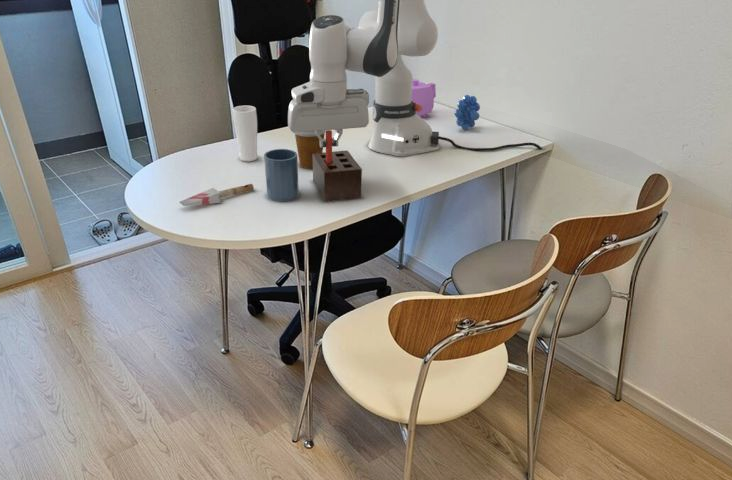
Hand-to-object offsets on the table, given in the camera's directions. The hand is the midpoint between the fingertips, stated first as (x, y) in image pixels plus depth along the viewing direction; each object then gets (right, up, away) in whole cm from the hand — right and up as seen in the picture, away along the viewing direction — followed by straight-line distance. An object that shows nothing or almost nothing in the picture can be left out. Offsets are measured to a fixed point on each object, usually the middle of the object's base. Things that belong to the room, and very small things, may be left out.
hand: (328, 146), depth 142 cm
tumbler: (-12, -12, +4) cm, 17 cm away
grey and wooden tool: (-28, -14, +1) cm, 32 cm away
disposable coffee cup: (-6, 0, +22) cm, 23 cm away
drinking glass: (-25, +2, +25) cm, 35 cm away
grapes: (+46, +18, +50) cm, 70 cm away
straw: (0, -10, +7) cm, 12 cm away
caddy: (+2, -10, +7) cm, 12 cm away
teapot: (+29, +27, +63) cm, 74 cm away
